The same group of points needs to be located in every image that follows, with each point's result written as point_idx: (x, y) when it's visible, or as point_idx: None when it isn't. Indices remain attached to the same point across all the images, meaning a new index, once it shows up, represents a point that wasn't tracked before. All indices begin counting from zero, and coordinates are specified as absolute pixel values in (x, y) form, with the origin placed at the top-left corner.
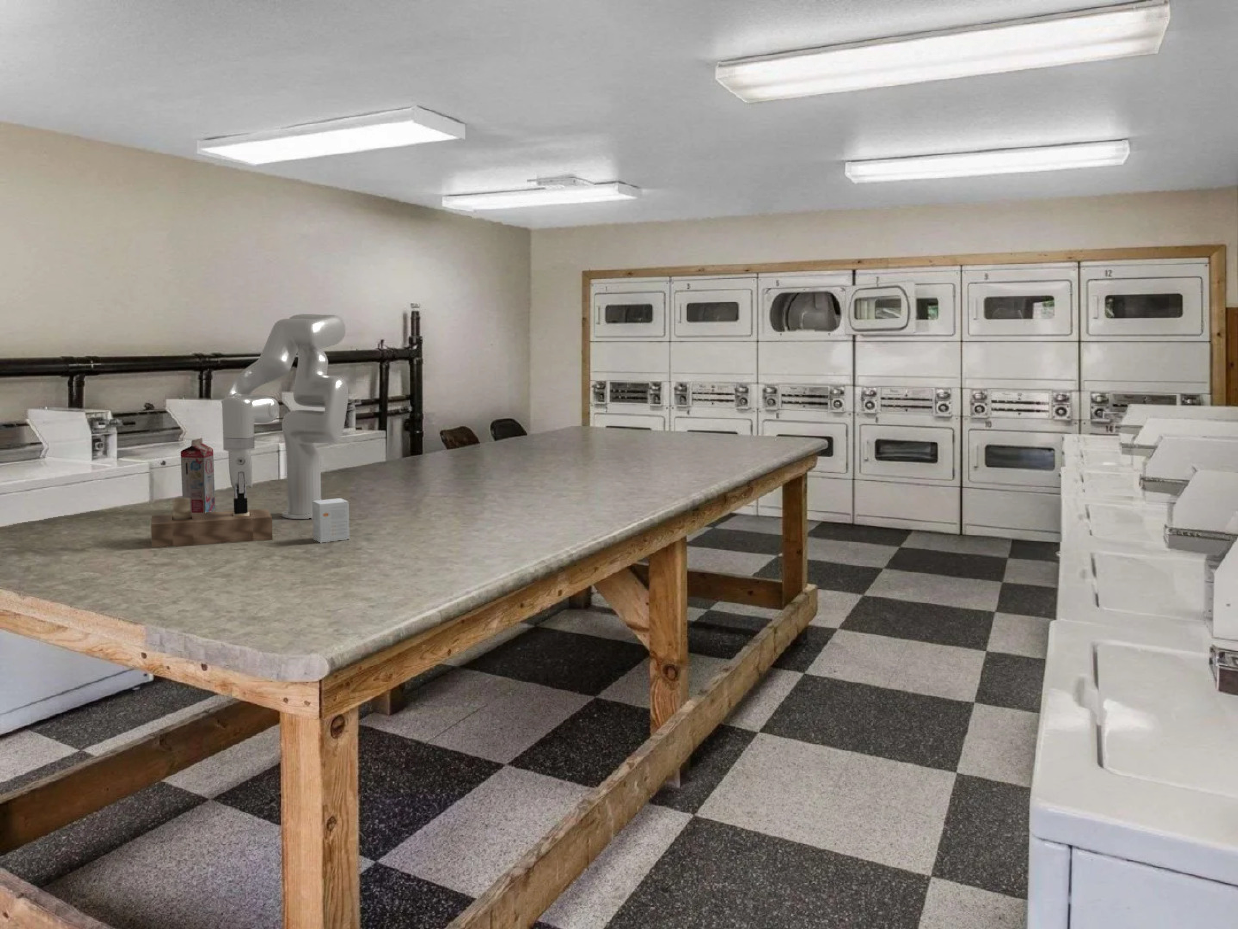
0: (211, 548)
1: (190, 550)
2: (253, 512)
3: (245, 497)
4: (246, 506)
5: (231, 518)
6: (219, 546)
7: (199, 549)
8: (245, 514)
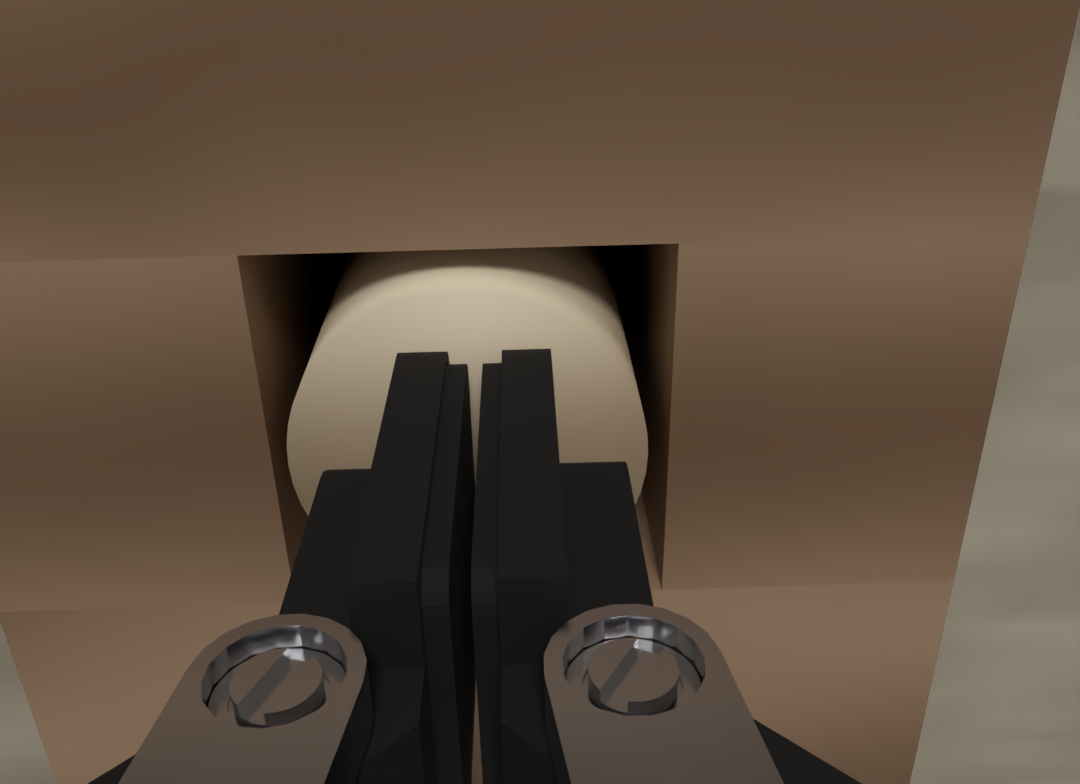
0: (1035, 596)
1: (1013, 760)
2: (245, 174)
3: (711, 669)
4: (556, 446)
5: (830, 605)
6: (974, 523)
7: (1015, 694)
8: (633, 378)
